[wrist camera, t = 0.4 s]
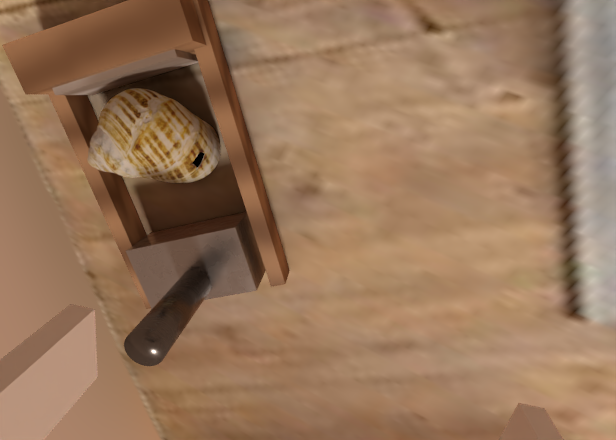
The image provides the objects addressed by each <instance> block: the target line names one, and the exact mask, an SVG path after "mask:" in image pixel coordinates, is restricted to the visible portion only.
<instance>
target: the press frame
mask: <svg viewBox="0 0 616 440" xmlns="http://www.w3.org/2000/svg"><path fill="white" fill-rule="evenodd" d="M2 46H3V48H4V50H5V52H6V54H7V56H8V58H9V60H10V62H11V64H12V67H13V69H14V71H15V73H16V75H17V77H18V79H19V81H20V83H21V86H22V88H23V90H24V92H25V94H49V97H50V99H51V101H52V103H53V105H54V108H55V110H56V112H57V114H58V116H59V118H60V121H61V123H62V125H63V127H64V129H65V132H66V134H67V136H68V138H69V140H70V143H71V145H72V147H73V149H74V151H75V153H76V156H77V158H78V160H79V162H80V164H81V167H82V169H83V171H84V173H85V175H86V178H87V180H88V182H89V184H90V186H91V189H92V191H93V193H94V195H95V197H96V199H97V202H98V204H99V206H100V208H101V210H102V213H103V215H104V217H105V219H106V221H107V224H108V226H109V228H110V230H111V232H112V234H113V237H114V239H115V241H116V243H117V245H118V248H119V250H120V252H121V254H122V256H123V259H124V261H125V263H126V265H127V267H128V270H129V272H130V274H131V276H132V278H133V280H134V283H135V285H136V287H137V289H138V291H139V294H140V296H141V298H142V300H143V302H144V305H145V307H146V309H149V308H151V306H150V304H149V302H148V300H147V297H146V295H145V293H144V291H143V288H142V286H141V284H140V282H139V280H138V277H137V275H136V273H135V271H134V269H133V266H132V264H131V262H130V260H129V257H128V255H127V253H126V250H128V249H129V248H130V247H132V246H133V245H135V244H136V243H137V242H139V241H140V240H142V239H143V238H144V237H146V236H147V235H146V233H145V231H144V228H143V226H142V224H141V221H140V219H139V217H138V214H137V212H136V210H135V207H134V205H133V203H132V200H131V198H130V195H129V193H128V191H127V188H126V186H125V184H124V181H123V179H122V177H121V175H118V174H115V173H112V172H103V171H101V170H98V169H96V168H94V167H92V166H91V165H90V164H89V163H88V161H87V158H88V150H89V148H90V141H91V138H92V136H93V134H94V133H95V132H96V131H97V126H98V120H97V118H96V116H95V113H94V111H93V108H92V106H91V104H90V101H89V99H88V97H87V95H94V94H98V93H101V92H104V91H107V90H111V89H114V88H117V87H120V86H124V85H127V84H130V83H133V82H136V81H140V80H143V79H146V78H149V77H153V76H156V75H159V74H162V73H166V72H169V71H172V70H175V69H179V68H182V67H185V66H188V65H192V64H195V63H199V66H200V69H201V72H202V75H203V78H204V81H205V84H206V87H207V90H208V94H209V97H210V100H211V103H212V106H213V109H214V112H215V115H216V118H217V121H218V124H219V127H220V131H221V134H222V137H223V140H224V143H225V146H226V149H227V152H228V155H229V158H230V161H231V164H232V168H233V171H234V174H235V177H236V180H237V183H238V186H239V189H240V192H241V195H242V198H243V201H244V205H245V208H246V211H247V214H248V217H249V220H250V223H251V226H252V229H253V232H254V235H255V238H256V242H257V245H258V248H259V251H260V254H261V257H262V260H263V263H264V266H265V269H266V272H267V275H268V279H269V282H270V285H271V286H277V285H283V284H285V283H286V280H287V277H288V274H289V268H288V264H287V261H286V258H285V255H284V251H283V248H282V245H281V241H280V238H279V235H278V231H277V228H276V225H275V221H274V218H273V215H272V211H271V208H270V205H269V201H268V198H267V195H266V192H265V188H264V185H263V182H262V178H261V175H260V172H259V168H258V165H257V162H256V158H255V155H254V152H253V148H252V145H251V142H250V138H249V135H248V132H247V129H246V125H245V122H244V119H243V115H242V112H241V109H240V105H239V102H238V99H237V95H236V92H235V89H234V85H233V82H232V79H231V75H230V72H229V69H228V66H227V62H226V59H225V56H224V52H223V49H222V46H221V42H220V39H219V36H218V32H217V29H216V26H215V22H214V19H213V16H212V12H211V9H210V6H209V3H208V1H207V0H127V1H124V2H122V3H119V4H116V5H113V6H110V7H108V8H105V9H102V10H99V11H96V12H94V13H91V14H88V15H85V16H82V17H80V18H77V19H74V20H71V21H68V22H66V23H63V24H60V25H57V26H54V27H51V28H49V29H46V30H43V31H40V32H37V33H35V34H32V35H29V36H26V37H23V38H21V39H18V40H15V41H12V42H9V43H7V44H4V45H2Z"/></svg>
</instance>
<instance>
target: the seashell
mask: <svg viewBox="0 0 616 440" xmlns="http://www.w3.org/2000/svg"><path fill="white" fill-rule="evenodd" d="M199 152H203V153H204V156H203V159H202V162H201V164H200V165H199V166H198V167H197V168H196V166H195V165H194V164H192V162H193V161H194V160H195V158H196V157H197V155H198V153H199ZM219 159H220V141H219V138H218V136H217V134H216V132H215V130H214V129H213V127H212V126H211V125H210V124H208V123H207V122H205V121H203V120H201V119H200V118H199V117H198V116H196V115H194V114H192V113H191V112H190V111H189V110H188V109H187V108H185V107H184V106H182V105H181V104H180V103H179V102H177V101H176V100H174V99H171V98H168V97H166V96H164V95H161V94H159V93H157V92H155V91H152V90H148V89H144V88H132V89H127V90H124V91H122V92H120V93H119V94H117V95H115V96H114V97H112V98H111V99H110V100H109V101H108V102H107V104H106V105H105V107H104V108H103V110H102V112H101V114H100V117H99V123H98V126H97V131H96V132H95V133H94V134H93V136H92V138H91V141H90V148H89V150H88V158H87V161H88V163H89V164H90V165H91V166H92V167H94V168H96V169H98V170H101V171H103V172H112V173H115V174H118V175H121V176H124V177H128V178H136V177H143V178H150V179H155V180H159V181H163V182H169V183H190V182H194V181H198V180H200V179H202V178H204V177H206V176H207V175H209V174H210V173H211V172H212V171H213V170H214V169H215V168H216V166H217V164H218V162H219Z"/></svg>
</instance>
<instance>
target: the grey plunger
mask: <svg viewBox="0 0 616 440" xmlns="http://www.w3.org/2000/svg"><path fill="white" fill-rule="evenodd" d="M126 253H127V255H128V257H129V260H130V262H131V264H132V266H133V269H134V271H135V273H136V275H137V277H138V280H139V282H140V284H141V286H142V288H143V291H144V293H145V295H146V297H147V300H148V302H149V304H150V306H151V308H152V310H151V311H150V312H149V313H148V314H147V315H146V316H145V317H144V318H143V320H142V321H141V322H140V323H139V324H138V325H137V326H136V327H135V329H134V330H133V331H132V332H131V333H130V334H129V335H128V336H127V337H126V339H125V342H124V347H125V351H126V353H127V354H128V356H129V357H130V358H131V359H132V360H133V361H135V362H136V363H138V364H141V365H144V366H154V365H157V364H159V363H160V362H161V361H162V360H163V358H164V357H165V356H166V354H167V353H168V351H169V350H170V348H171V347H172V345H173V344H174V343H175V341H176V340H177V338H178V337H179V335H180V334H181V332H182V331H183V329H184V328H185V327H186V325H187V324H188V322H189V321H190V319H191V318H192V316H193V315H194V313H195V312H196V311H197V309H198V308H199V306H200V305H201V303H202V302H203V300H206V299H212V298H217V297H223V296H228V295H234V294H240V293H245V292H251V291H256V290H257V288H258V286H259V284H260V282H261V280H262V277H263V275H264V273H265V271H266V269H265V266H264V263H263V260H262V257H261V254H260V251H259V248H258V245H257V242H256V238H255V235H254V232H253V229H252V226H251V223H250V220H249V217H248V214H247V212H242V213H238V214H233V215H229V216H224V217H220V218H215V219H211V220H206V221H202V222H197V223H193V224H188V225H184V226H179V227H175V228H170V229H166V230H161V231H157V232H152V233H150V234H149V235H147V236H146V237H144V238H143V239H142V240H140V241H139V242H137V243H136V244H135V245H133V246H132V247H130V248H129V249H128V250H126Z"/></svg>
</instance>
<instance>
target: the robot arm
mask: <svg viewBox="0 0 616 440" xmlns="http://www.w3.org/2000/svg"><path fill="white" fill-rule="evenodd" d="M96 378H97V353H96V331H95V310H94V309H91V308H87V307H82V306H77V305H73V304H70V305H69V306H68V307H66V308H65V309H64V310H62V311H61V312H60V313H59V314H58V315H56V316H55V317H54V318H52V319H51V320H50V321H49V322H47V323H46V324H45V325H44V326H42V327H41V328H40V329H39V330H37V331H36V332H35V333H33V334H32V335H31V336H30V337H29V338H27V339H26V340H25V341H23V342H22V343H21V344H20V345H18V346H17V347H16V348H15V349H13V350H12V351H11V352H9V353H8V354H7V355H6V356H4V357H3V358H2V359H1V360H0V440H44V439H45V438H46V437H47V435H48V434H49V433H50V432H51V431H52V430H53V428H54V427H55V426H56V425H57V424H58V422H59V421H60V420H61V419H62V418H63V417H64V416H65V414H66V413H67V412H68V411H69V410H70V409H71V407H72V406H73V405H74V404H75V403H76V401H77V400H78V399H79V398H80V397H81V396H82V394H83V393H84V392H85V391H86V390H87V389H88V387H89V386H90V385H91V384H92V383H93V382H94V380H95V379H96ZM499 440H564V439H563V438H562V436H561V435H560V433H559V431H558V430H557V428H556V426H555V425H554V423H553V422H552V420H551V418H550V417H549V415H548V413H547V412H546V410H545V409H544V408H540V407H535V406H531V405H526V404H522V403H518V405H517V407H516V409H515V411H514V413H513V414H512V416H511V418H510V420H509V422H508V424H507V425H506V427H505V429H504V431H503V433H502V435H501V436H500V438H499Z"/></svg>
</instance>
